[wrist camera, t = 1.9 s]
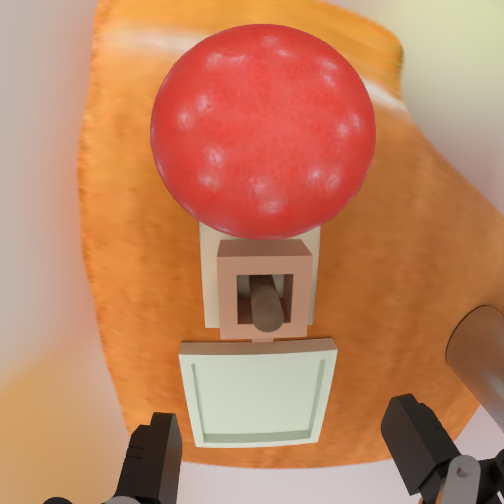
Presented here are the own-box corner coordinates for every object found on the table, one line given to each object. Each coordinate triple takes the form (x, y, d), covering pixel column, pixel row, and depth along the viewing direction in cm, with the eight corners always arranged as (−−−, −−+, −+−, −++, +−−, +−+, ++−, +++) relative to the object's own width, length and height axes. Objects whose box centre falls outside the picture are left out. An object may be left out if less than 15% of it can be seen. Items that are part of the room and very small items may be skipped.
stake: (316, 216, 24) (351, 243, 16) (308, 316, 26) (332, 372, 19) (201, 216, 23) (184, 244, 16) (206, 318, 26) (197, 378, 18)
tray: (332, 337, 27) (337, 349, 25) (314, 430, 32) (317, 441, 30) (181, 341, 27) (178, 354, 25) (197, 434, 31) (196, 446, 29)
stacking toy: (181, 112, 21) (29, 6, 3) (282, 84, 21) (396, -74, 3) (211, 208, 23) (139, 367, 5) (310, 180, 23) (495, 252, 5)
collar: (300, 239, 23) (313, 255, 19) (295, 320, 25) (305, 347, 21) (220, 239, 22) (216, 256, 19) (223, 322, 25) (221, 350, 21)
